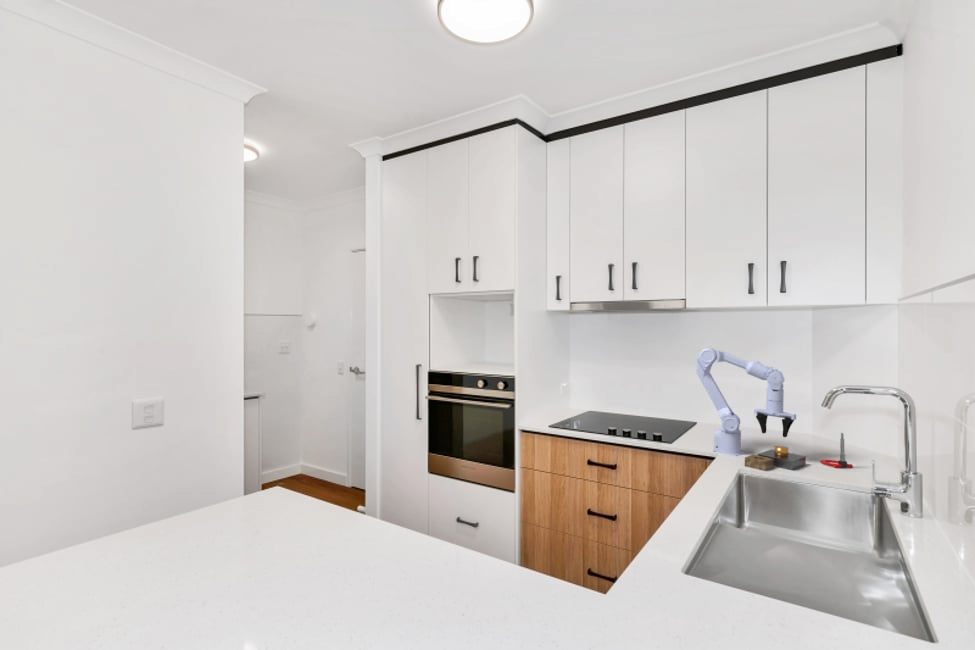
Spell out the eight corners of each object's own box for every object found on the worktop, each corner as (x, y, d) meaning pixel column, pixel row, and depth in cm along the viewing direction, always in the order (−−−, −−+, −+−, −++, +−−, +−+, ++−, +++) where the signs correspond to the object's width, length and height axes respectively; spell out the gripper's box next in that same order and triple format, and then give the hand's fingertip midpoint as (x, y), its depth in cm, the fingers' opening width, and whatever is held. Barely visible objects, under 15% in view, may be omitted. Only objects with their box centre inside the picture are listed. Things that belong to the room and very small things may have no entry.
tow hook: (815, 462, 185) (833, 468, 176) (814, 429, 186) (832, 433, 177) (836, 462, 186) (855, 468, 176) (835, 429, 186) (854, 433, 177)
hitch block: (757, 463, 181) (757, 454, 181) (771, 458, 189) (771, 449, 189) (792, 471, 172) (792, 461, 172) (805, 465, 179) (805, 456, 179)
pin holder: (744, 466, 176) (744, 457, 176) (753, 463, 181) (753, 454, 181) (764, 471, 171) (764, 462, 171) (773, 468, 175) (773, 458, 175)
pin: (772, 463, 181) (772, 446, 181) (777, 461, 183) (777, 445, 183) (784, 466, 177) (784, 449, 177) (790, 464, 179) (790, 447, 179)
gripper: (750, 398, 191) (750, 432, 191) (791, 404, 179) (790, 440, 180) (759, 397, 195) (758, 430, 195) (798, 402, 184) (798, 437, 184)
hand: (774, 434), depth 188 cm, fingers open, 7 cm apart
